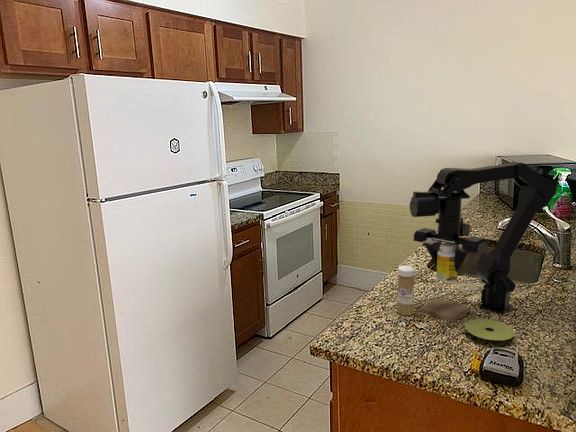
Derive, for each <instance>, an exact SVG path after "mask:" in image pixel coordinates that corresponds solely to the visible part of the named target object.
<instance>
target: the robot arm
mask: <svg viewBox="0 0 576 432" xmlns="http://www.w3.org/2000/svg"><path fill="white" fill-rule="evenodd" d="M509 179H513V181H514V183H515V184H516V185H517V186H519V187H520V189H519V191H518V200H517V201H518V203H517V206H516V208H515V210H514V211H513V214H512V215H511V217H510V219H509V221H508V223H507V225H506V227H504V230H503V232H502V233H501V235H500V237H499V239H498V241H497V242H496V244H495V245H494V248H493V249H492V250H491V251H489V252H488V253H486V252H485V251H484V250H486V249H487V244H488V243H487V240H486V239H485V238H484V237H478V236H473V235H472V236H470V231H471V225H470V224H468V223H464V218H463V217H462V215H461V214H462V199H463V200H464V199H470V197H471V196H470V194H468V193H467V192H466V191H465V190H466V189H469V188H470V187H472V186H475V185H477V184H482V183H483V184H484V183H490V182H497V181H504V180H509ZM557 189H558V188H557V185H556V183H555V182H554V181H553V180H552V179H548V178H545V176H543V175H542V174H540V173H539V172H537V171H535V170H533V169H532V168H531V167H530V166H529V165H528V164H526V163H524V162H520V161H511V162H509V163H503V164H496V165H495V164H494V165H488V166H482V167H475V168H459V167H444V168H442V169H440V171H439V172H438V173H437V175H436V179H435V180H434V181H433V183H432V185H430V187H428V191H413V192H412V197H411V198H410V202H409V211H410V214H411V216H412V218H420V217H422V218H423V217H435V216H436V215H437V216H438V217H437V218H436V219H435V223H436V224H437V230H435V229H432V228H426V227H424V228H421V229H418V230H416V231H414V233H413V242H418V243H422V246H424V247H425V248H426V250H427V252H428V253H429V255H430V257H431V259H432V261H433V263H434V266H435V268H437V252H438V251H439V250H441V244H442V243H451V244H455V245H456V246H459V248H456V250H455V270H456V272H460V270H461V267H462V266H463V263H464V261H465V259H466V257H467V255H468V254H469V253H473V254H478V253H480V252H482V251H483V252H482V253H481V254H480V257H479V259H478V260H477V261H476V262H475V265H476V268H475V273H476V275H477V276H478V277H479V278H480V281H481V283H484V284H483V288H482V289H481V297H480V304H479V307H480V308H484V309H487V310H490V311H493V312H497V313H500V314H503V313H505V312H506V311H507V310H509V309H510V308H512V303H511V304H510V299H511V293H514V291H515V289H516V283H515V282H514V281H513V280H511V278H509V275H510V272H511V265H512V264H511V259H512V256H513V255H514V253H515V251H516V249H517V248H518V245H519V244H520V242H521V240H522V239H523V237H524V235H525V233H527V230H528V228H529V226H530V224H531V223H532V221H533V219H534V218H535V216H536V214H537V213H538V212H539V211H540V210H542V209H544V207H546V206H548V204H550V202H551V201H552V200H553V198H554V197H555V196H556V194H557ZM436 231H437V232H436ZM461 237H462V238H461ZM463 237H467V238H463Z"/></svg>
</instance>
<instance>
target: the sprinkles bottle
mask: <svg viewBox="0 0 576 432" xmlns="http://www.w3.org/2000/svg"><path fill="white" fill-rule="evenodd" d="M397 275H398V281H397V282H398V284H397V310H396V311H397V313H398V314H399V315H402V316H412V315H413V314H414V302H415V301H414V297H415V276H416V268H414V266H410V265H401V266H398V269H397Z"/></svg>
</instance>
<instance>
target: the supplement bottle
mask: <svg viewBox="0 0 576 432" xmlns="http://www.w3.org/2000/svg"><path fill="white" fill-rule="evenodd" d="M455 250H457V245H456V244H451V243H446V242H442V243H441V246H440V250H439V251H438V252H437V267H436V276H435V277H436V280H438V281H439V282H442V283H455V282H456V281H457V280H458V272H456V270H455Z"/></svg>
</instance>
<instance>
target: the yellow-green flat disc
mask: <svg viewBox="0 0 576 432" xmlns="http://www.w3.org/2000/svg"><path fill="white" fill-rule="evenodd" d="M464 328H465V330H466V331H467V332H468V333H470V334H471V335H473V336H475V337H477V338H480V339H484V340H489V341H507V340H510V339H512V338H513V337H515V335H516V334H515V330H514V329H513V328H512V327H511V326H510V325H507V324H506V323H504V322H501V321H497V320H493V319H484V318H478V319H471V320H469V321H467V322H466V323H465V325H464Z"/></svg>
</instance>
